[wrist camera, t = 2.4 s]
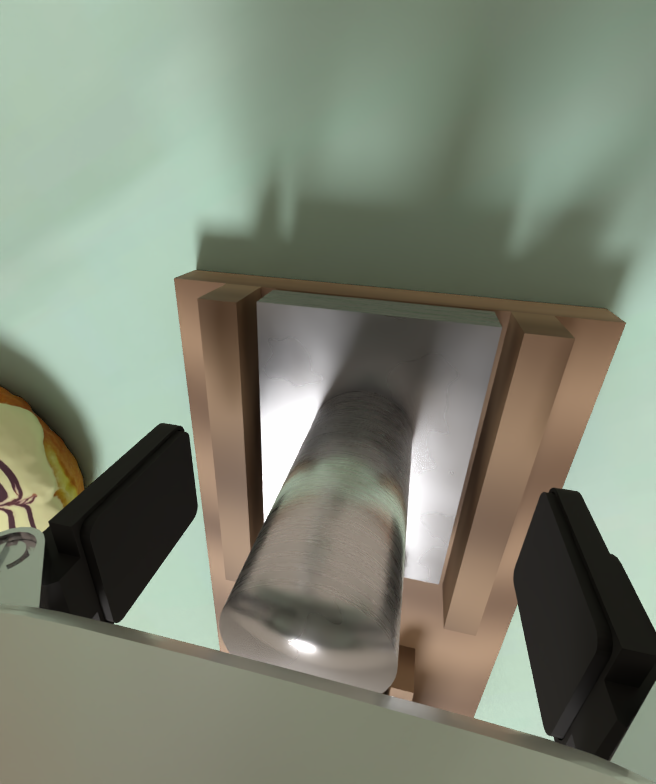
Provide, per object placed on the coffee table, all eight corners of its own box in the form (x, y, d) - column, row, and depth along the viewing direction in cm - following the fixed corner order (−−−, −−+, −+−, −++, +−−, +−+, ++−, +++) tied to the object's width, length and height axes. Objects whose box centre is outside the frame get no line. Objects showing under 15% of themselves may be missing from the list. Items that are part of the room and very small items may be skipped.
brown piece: (195, 270, 16) (76, 316, 10) (606, 308, 13) (723, 393, 8) (233, 655, 27) (186, 772, 21) (461, 714, 24) (469, 861, 19)
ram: (273, 289, 13) (81, 425, 6) (494, 312, 12) (592, 511, 5) (277, 554, 19) (180, 794, 12) (430, 586, 18) (430, 876, 10)
